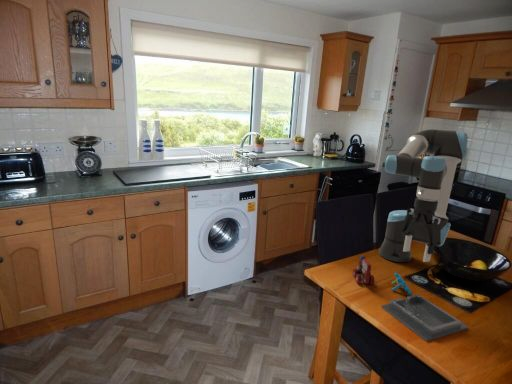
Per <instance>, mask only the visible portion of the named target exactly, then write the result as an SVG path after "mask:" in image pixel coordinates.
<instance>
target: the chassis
mask: <svg viewBox="0 0 512 384" xmlns="http://www.w3.org/2000/svg"><path fill="white" fill-rule="evenodd" d="M381 309H383V310H384V311H385V312H387V313H389V314H390V315H391V316H392V317H393V318H395V319H396V320H398V321H399V322H400V323H401V324H402V325H404V326H405V327H406V328H408V329H409V330H410V331H412V332H413V333H415V335H417V336H418V337H420V338H421V339H422V340H424V341H425V342H430V341H432V340H436V339H439V338H442V337H446V336H449V335H452V334H456V333H458V332H462V331H466V330H468V329H469V326H468V325H467V324H465V323H463V321H461V320H459V319H458V318H457V317H455V316H453V315H451V313H449V312H448V311H446V310H444V309H442V308H441V307H440V306H437V305H436V304H434V303H432V302H431V301H429V300H428V299H427V298H425V297H424V296H422V295H420V294H418V293H417V294H412V295H409V296H407V297H406V299H404V298H403V297H401V298H395V299H391V300H389V303H387V304H382V305H381Z"/></svg>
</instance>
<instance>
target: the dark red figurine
mask: <svg viewBox="0 0 512 384" xmlns="http://www.w3.org/2000/svg"><path fill="white" fill-rule="evenodd" d="M371 270H372V265H371V263H370V262H369V261H368V259H367V258H366V256H365V255H360V257H359V260H358V262H357V268H353V269H352V276H353V277H354V279H355V282H356V284H358V285H361V284H362V282H363V283H364V284H368V285H372V286H373V285H375V277H374V275H373V274H372V273H371Z"/></svg>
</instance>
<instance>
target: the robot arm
mask: <svg viewBox="0 0 512 384" xmlns="http://www.w3.org/2000/svg"><path fill="white" fill-rule="evenodd" d="M467 148H468V134H467V133H466V132H464V131H458V130H443V129H433V128H432V129H431V128H430V129H424V130H421V131H418V132H416V133H414V134H413V135H411V136H410V137H409V138H407V140H406V144H405V146H403V148H402V149H401V151H399V153H398V154H389V155H387V157H386V159H385V162H384V171H385V172H386V173H387V174H392V175H399V176H404V177H413V178H417V179H418V182H417V183H418V184H417V189H416V197H415V199H414V205H413V208H407V209H406V210H405V209H401V210H400V209H398V210H392V211H390V212H389V214H388V218H387V219H386V220H387V222H386V229H385V235H384V240H383V241H382V243H381V245H380V246H379V248H378V249H379V250H378V254H379V256H380V257H382V258H384V259H385V260H388V261H391V262H396V263H407V262H410V261H412V251H411V246H412V241H414V242H418V243H421V244H422V243H423V244H425V248H424V253H423V257H422V262H423V263H428V262H431V259H432V258H431V256H432V255H433V254H434V251H435V247H442V246H443V245H444V244H445V241H446V239H447V236H448V234H449V231H450V229H451V223H450V222H449V217H448V216H447V215H446V214H447V209H448V205H449V201H450V197H451V191H452V188H453V182H454V179H455V174H456V170H457V166H458V164H460V163H461V162H462V160H463V159H465V158H467V150H468V149H467ZM422 154H430V155H426V156H424V157H423V158H419V157H420V155H422ZM432 155H433V156H432Z"/></svg>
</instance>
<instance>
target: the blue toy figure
mask: <svg viewBox="0 0 512 384" xmlns="http://www.w3.org/2000/svg"><path fill="white" fill-rule="evenodd" d="M394 276H395V280H393V281H392V282H391V284H392V285H394V284H396V283H397V285H396V286H394V287H392V288H391V290H392V291H393V292H395V291H396V290H397V289H398V290H399V289H402V288H403V290H404V291H405V292H406V293H407V295H409V296H412V295H413V293H412V291H411V290H410V287H409V286H408V285H407V282H406V281H405V280H404V279H403V277H402V276H401V275H400V274H399V273H397V272H394Z"/></svg>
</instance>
